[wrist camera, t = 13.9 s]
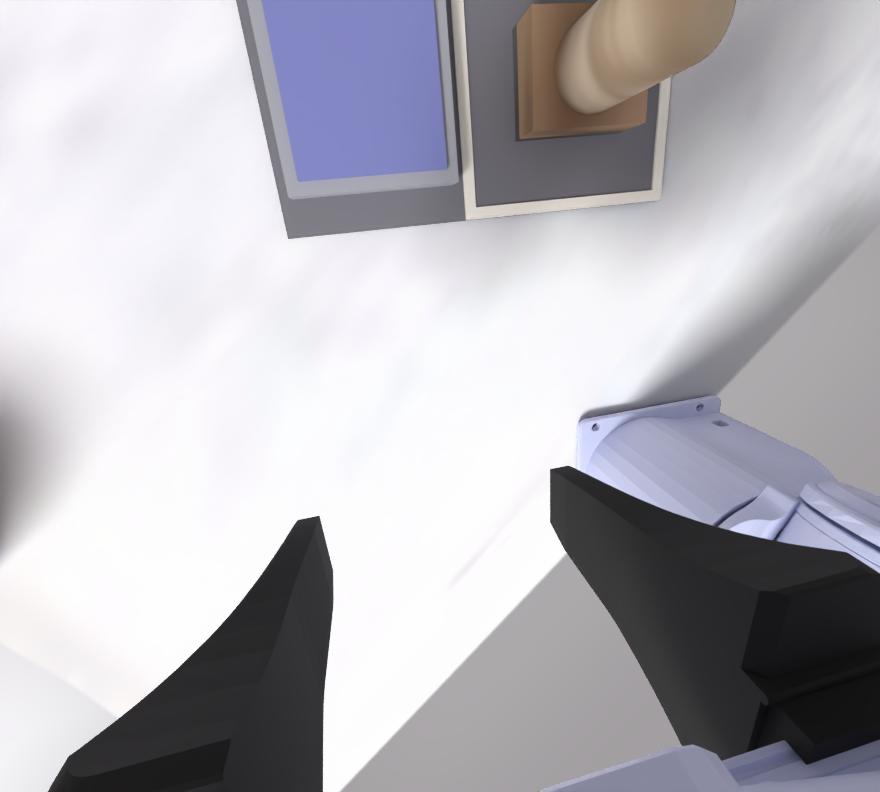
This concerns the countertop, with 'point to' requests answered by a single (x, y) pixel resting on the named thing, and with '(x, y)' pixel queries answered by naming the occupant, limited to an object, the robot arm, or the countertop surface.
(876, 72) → the countertop surface
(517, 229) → the countertop surface
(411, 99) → the stamp mat
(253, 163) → the countertop surface
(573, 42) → the stamp
